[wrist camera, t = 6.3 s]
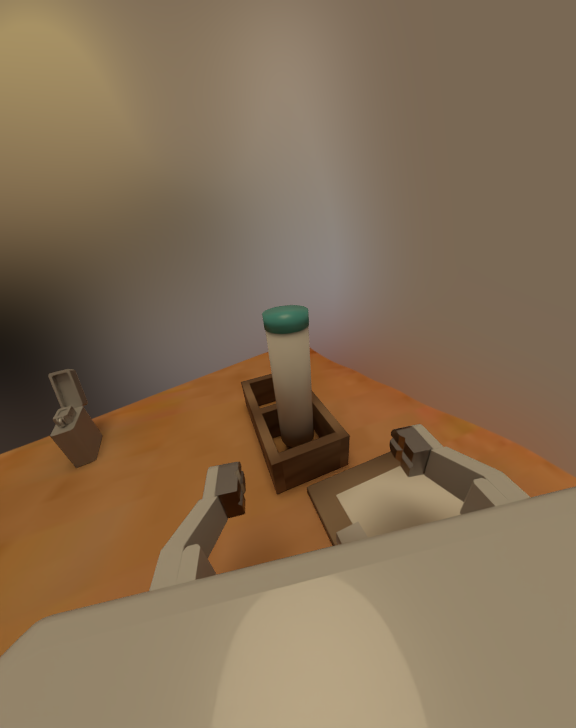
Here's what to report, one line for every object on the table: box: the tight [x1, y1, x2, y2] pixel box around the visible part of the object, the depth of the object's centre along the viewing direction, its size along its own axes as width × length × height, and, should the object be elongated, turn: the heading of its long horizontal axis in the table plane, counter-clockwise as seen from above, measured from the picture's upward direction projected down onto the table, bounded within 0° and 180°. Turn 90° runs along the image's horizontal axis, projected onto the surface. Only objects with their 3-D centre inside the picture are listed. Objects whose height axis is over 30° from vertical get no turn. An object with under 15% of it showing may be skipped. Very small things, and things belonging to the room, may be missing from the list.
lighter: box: [48, 369, 102, 468], centre depth 24 cm, size 7×2×8 cm, turn 29°
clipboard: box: [307, 451, 463, 546], centre depth 14 cm, size 14×12×2 cm
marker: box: [262, 305, 314, 449], centre depth 19 cm, size 3×3×14 cm
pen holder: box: [241, 374, 350, 494], centre depth 23 cm, size 12×7×4 cm, turn 21°
